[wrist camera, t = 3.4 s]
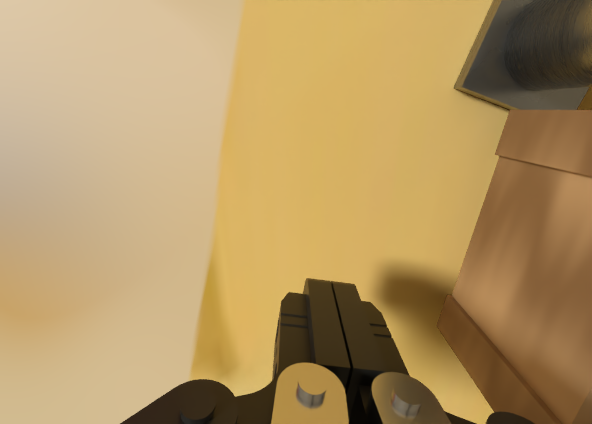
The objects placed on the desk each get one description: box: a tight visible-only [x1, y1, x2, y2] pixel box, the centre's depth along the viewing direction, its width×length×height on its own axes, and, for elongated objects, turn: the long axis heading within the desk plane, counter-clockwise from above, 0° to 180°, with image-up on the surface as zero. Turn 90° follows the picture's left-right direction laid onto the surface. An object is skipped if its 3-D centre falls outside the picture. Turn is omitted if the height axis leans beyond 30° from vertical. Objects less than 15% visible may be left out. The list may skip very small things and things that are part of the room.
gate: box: [437, 110, 592, 424], centre depth 9 cm, size 9×2×7 cm, turn 171°
